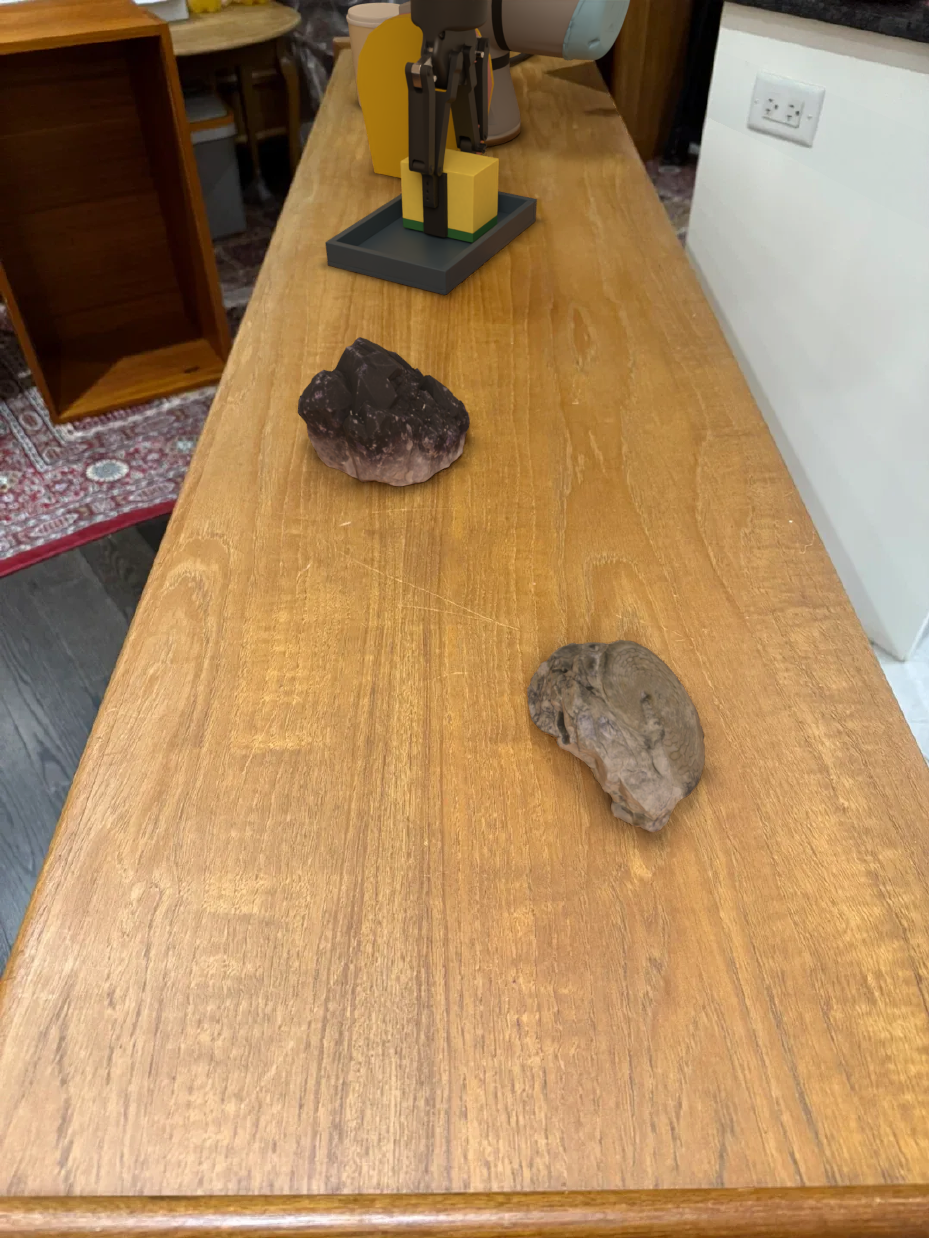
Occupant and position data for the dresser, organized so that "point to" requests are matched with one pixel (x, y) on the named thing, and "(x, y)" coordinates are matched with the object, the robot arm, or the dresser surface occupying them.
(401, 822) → the dresser surface
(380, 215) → the tray
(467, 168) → the sponge
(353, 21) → the coffee cup
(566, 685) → the fossilized seashell
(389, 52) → the yellow arched slab
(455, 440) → the crystal cluster
